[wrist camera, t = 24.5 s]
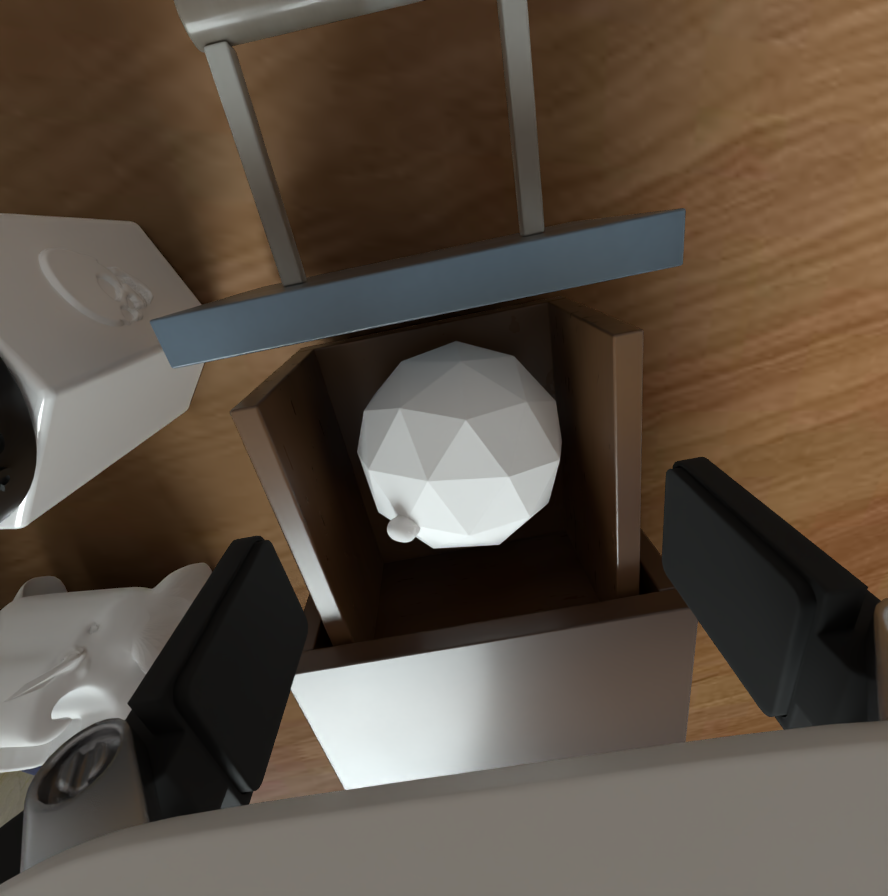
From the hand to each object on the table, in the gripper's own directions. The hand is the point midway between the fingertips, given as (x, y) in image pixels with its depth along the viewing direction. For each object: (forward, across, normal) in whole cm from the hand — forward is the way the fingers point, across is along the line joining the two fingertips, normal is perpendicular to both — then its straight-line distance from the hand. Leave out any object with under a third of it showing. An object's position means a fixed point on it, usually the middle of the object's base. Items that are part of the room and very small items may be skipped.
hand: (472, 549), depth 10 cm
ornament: (+10, 0, 0) cm, 10 cm away
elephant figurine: (+3, +20, +11) cm, 23 cm away
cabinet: (+11, 0, +13) cm, 17 cm away
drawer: (+10, 0, -2) cm, 11 cm away
